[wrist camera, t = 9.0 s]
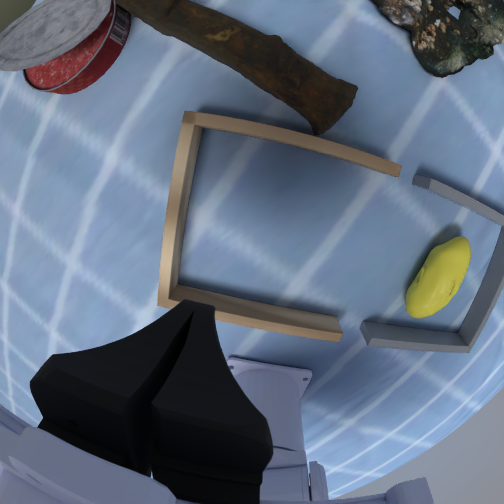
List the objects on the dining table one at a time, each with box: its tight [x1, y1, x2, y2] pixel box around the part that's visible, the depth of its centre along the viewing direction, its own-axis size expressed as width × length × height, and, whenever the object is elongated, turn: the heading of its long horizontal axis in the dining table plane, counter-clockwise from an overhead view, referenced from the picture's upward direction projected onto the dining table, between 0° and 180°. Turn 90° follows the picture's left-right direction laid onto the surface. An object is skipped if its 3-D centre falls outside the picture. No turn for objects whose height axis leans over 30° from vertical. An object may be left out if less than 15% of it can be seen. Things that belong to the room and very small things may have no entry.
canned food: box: [0, 0, 130, 94], centre depth 12 cm, size 11×10×10 cm
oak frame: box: [157, 111, 402, 342], centre depth 19 cm, size 14×14×2 cm
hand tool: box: [115, 0, 358, 136], centre depth 14 cm, size 19×4×5 cm, turn 52°
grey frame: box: [360, 175, 504, 353], centre depth 20 cm, size 14×13×2 cm
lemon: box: [405, 236, 471, 319], centre depth 19 cm, size 4×8×4 cm, turn 145°
